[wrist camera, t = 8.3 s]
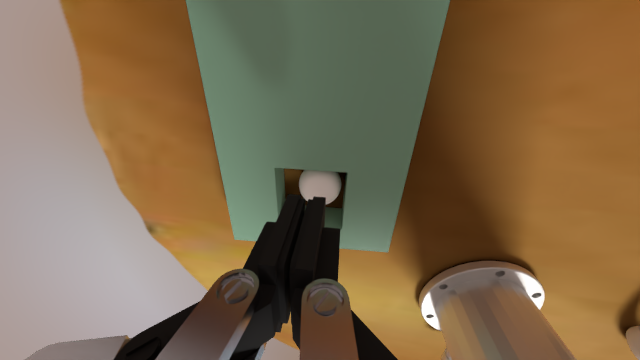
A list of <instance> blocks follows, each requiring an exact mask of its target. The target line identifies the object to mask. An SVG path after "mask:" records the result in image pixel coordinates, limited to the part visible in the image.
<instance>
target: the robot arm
mask: <svg viewBox="0 0 640 360" xmlns="http://www.w3.org/2000/svg"><path fill="white" fill-rule="evenodd" d="M325 207H326V197H315V196H314V197H313V200H312V199H308V203H307V206H306V210H305V199H301V195H292V194H288V196H287V198H286V200H285V202H284V205H283V207H282V209H281V212H280V214H279V216H278V218H277V221H276V222H266V224H265V225H264V227H263V229H262V231H261V233H260V235H259V237H258V239H257V241H256V243H255V245H254V247H253V249H252V251H251V253H250V255H249V257H248V259H247V261H246V263H245V265H244V267H243V269H235V270H232V271H229V272H227V273H225V274H224V275H222V276H221V277H220V278H219V279H218V280H217V281H216V282H215V283H214V284H213V285H212V287H211V288H210V289H209V291H208V292H207V293H206V295H205V296H204V297H203V299H202V300H201V301H200V302H198V303H196V304H194V305H192V306H190V307H188V308H186V309H185V310H182V311H181V312H179V313H177V314H175V315H173V316H171V317H169V318H167V319H165V320H163V321H162V322H160V323H158V324H156V325H154V326H152V327H150V328H148V329H146V330H145V331H143V332H141V333H139V334H138V335H136V336H135V337H133V338H128V336H127V335H125V336H115V337H107V338H98V339H89V340H79V341H70V342H61V343H56V344H52V345H48V346H46V347H44V348H42V349H41V350H38V351H36V352H35V353H34V354H32V355H31V356H30V357H28V358H27V359H25V360H260V359H261V357H262V354H263V352H264V350H265V346H266V342H267V341H269V340H270V339H271V338H273V337H274V336H275V332H281V328H282V324H283V323H288V320H289V316H290V312H291V324H292V332H293V340H294V341H295V343H296V345H297V346H298V348H299V349H300V360H398V359H397V358H396V357H395V356H394V355H393V354H392V353H391V352H390V351H389V350H388V349H387V348H386V347H385V346H384V344H383V343H382V342H381V341H380V340H379V339H378V338H377V337H376V336H375V335H374V334H373V333H372V332H371V331H370V329H369V328H368V327H367V326H366V325H365V324H364V323H363V322H362V321H361V320H360V319H359V318H358V317H357V316H356V314H355V313H354V312H353V311H352V310H351V308H350V301H349V297H348V294H347V291H346V290H345V288H344V287H343V286H342V285H341V284H340V283H338V265H339V246H340V229H338V228H328V227H324V226H325ZM544 299H545V292H544V289H543V287H542V285H541V283H540V282H539V281H538V280H537V278H536V277H535V276H534V275H533V274H532V273H531V272H529V271H528V270H527V269H525V268H523V267H521V266H518V265H515V264H512V263H508V262H500V261H478V262H470V263H466V264H462V265H458V266H455V267H453V268H450V269H447V270H445V271H444V272H442V273H440V274H438V275H437V276H435V277H434V278H433V279H431V280H430V281H429V282H428V283H427V284H426V285H425V286H424V288H423V290H422V291H421V293H420V297H419V307H420V310H421V313H422V316H423V318H424V319H425V321H426V322H427V323H428V324H430V325H431V326H432V327H434V328H436V329H437V330H440V331H442V333H443V336H444V339H445V342H446V349H445V351H444V353H443V354H442V356H441V360H576V359H575V357H574V356H573V354H572V353H571V352H570V350H569V349H568V348H567V346H566V345H565V344H564V342H563V341H562V340H561V338H560V337H559V336H558V334H557V333H556V332H555V330H554V329H553V327H552V326H551V325H550V323H549V322H548V321H547V319H546V318H545V317H544V315H543V314H542V313H541V311H540V308H541V307H542V305H543V302H544Z"/></svg>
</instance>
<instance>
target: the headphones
mask: <svg viewBox="0 0 640 360" xmlns="http://www.w3.org/2000/svg"><path fill="white" fill-rule="evenodd" d="M626 339H627V343H628V345H629V347H630V349H631V351H632V352H633V354H634V355H635V356H636V357H637V359H638V360H640V326H634V327H630V328H629V329H628V330H627V331H626Z"/></svg>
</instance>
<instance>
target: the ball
mask: <svg viewBox="0 0 640 360" xmlns="http://www.w3.org/2000/svg"><path fill="white" fill-rule="evenodd" d="M299 189H300V192H301V194H302V196H303V197H304V199H305V200H306V201H308V199H312V200H313V197H314V196H315V197H326V204H329V203H331V202H332V201H334V200H335V199H336V198H337V196H338V195H339V193H340V190H341V179H340V176H339V174H338V172H332V171H317V170H304V171H303V173H302V174H301V176H300V180H299Z"/></svg>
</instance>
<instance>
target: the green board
mask: <svg viewBox="0 0 640 360" xmlns="http://www.w3.org/2000/svg"><path fill="white" fill-rule="evenodd" d="M449 3H450V0H186V4H187V9H188V14H189V19H190V24H191V28H192V33H193V38H194V43H195V48H196V53H197V58H198V63H199V68H200V72H201V77H202V82H203V87H204V92H205V97H206V102H207V107H208V112H209V117H210V121H211V126H212V131H213V136H214V141H215V146H216V151H217V156H218V161H219V165H220V170H221V175H222V180H223V185H224V190H225V195H226V200H227V205H228V209H229V214H230V219H231V224H232V229H233V234H234V239H235V240H247V241H257V239H258V237H259V235H260V233H261V231H262V229H263V227H264V225H265V224H266V222H276V221H277V218H278V216H279V214H280V212H281V209H282V207H283V205H284V202H285V200H286V198H285V179H284V168H287V169H302V170H317V171H332V172H346V175H345V185H344V195H343V206H342V208H332V207H325V226H324V227H328V228H338V229H340V246H339V248H342V249H354V250H366V251H377V252H388V250H389V246H390V242H391V238H392V234H393V230H394V226H395V222H396V218H397V214H398V210H399V206H400V202H401V198H402V194H403V190H404V186H405V181H406V177H407V173H408V169H409V165H410V161H411V157H412V153H413V149H414V145H415V141H416V137H417V133H418V129H419V125H420V121H421V116H422V112H423V108H424V104H425V100H426V96H427V92H428V88H429V84H430V80H431V76H432V72H433V68H434V64H435V60H436V56H437V52H438V47H439V43H440V39H441V35H442V31H443V27H444V23H445V19H446V15H447V11H448V7H449ZM305 210H306V205H305Z"/></svg>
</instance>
